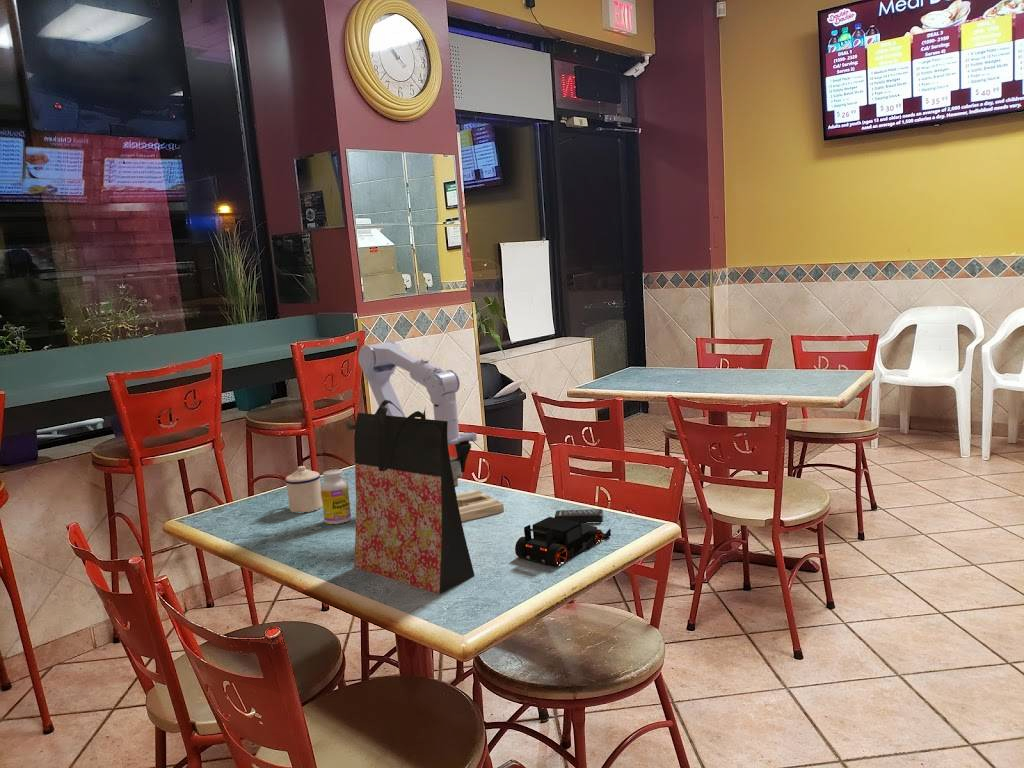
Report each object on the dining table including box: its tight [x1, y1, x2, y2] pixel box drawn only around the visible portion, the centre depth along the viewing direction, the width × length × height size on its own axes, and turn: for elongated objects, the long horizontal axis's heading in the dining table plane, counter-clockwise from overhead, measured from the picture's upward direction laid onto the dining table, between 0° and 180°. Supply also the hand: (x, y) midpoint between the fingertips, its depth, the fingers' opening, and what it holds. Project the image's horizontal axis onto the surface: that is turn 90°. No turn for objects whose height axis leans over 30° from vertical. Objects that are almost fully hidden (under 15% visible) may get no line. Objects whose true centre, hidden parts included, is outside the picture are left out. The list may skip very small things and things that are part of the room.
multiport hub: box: [554, 508, 604, 524], centre depth 178 cm, size 4×11×2 cm, turn 81°
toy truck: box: [514, 516, 612, 567], centre depth 161 cm, size 10×20×7 cm, turn 139°
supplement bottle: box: [320, 468, 352, 525], centre depth 192 cm, size 7×7×13 cm
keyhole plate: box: [456, 489, 505, 523], centre depth 192 cm, size 16×15×2 cm
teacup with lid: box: [284, 465, 323, 513], centre depth 205 cm, size 12×9×12 cm
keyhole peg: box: [449, 456, 463, 488], centre depth 189 cm, size 5×5×7 cm
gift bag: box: [345, 400, 476, 595], centre depth 154 cm, size 29×14×35 cm, turn 49°
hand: (451, 473), depth 190 cm, fingers closed on keyhole peg, 5 cm apart
